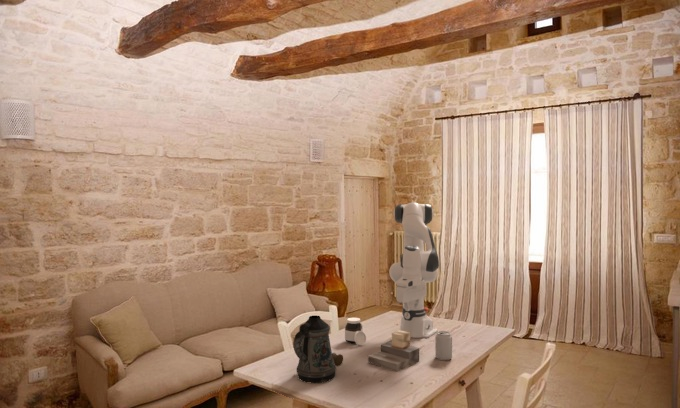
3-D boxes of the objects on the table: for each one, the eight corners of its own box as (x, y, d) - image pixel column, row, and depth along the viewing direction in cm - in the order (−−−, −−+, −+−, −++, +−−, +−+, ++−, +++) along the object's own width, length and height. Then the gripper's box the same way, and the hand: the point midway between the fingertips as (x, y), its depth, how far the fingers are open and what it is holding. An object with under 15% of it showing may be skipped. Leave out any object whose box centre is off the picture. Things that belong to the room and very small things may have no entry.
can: (441, 354, 225) (441, 329, 225) (455, 358, 220) (455, 332, 220) (432, 358, 220) (432, 332, 220) (446, 362, 215) (446, 335, 214)
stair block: (391, 353, 227) (391, 340, 227) (419, 361, 216) (419, 348, 216) (368, 362, 215) (368, 349, 215) (396, 371, 204) (396, 357, 204)
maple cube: (399, 343, 224) (399, 330, 223) (410, 345, 219) (410, 332, 219) (391, 345, 219) (391, 333, 219) (402, 348, 215) (402, 335, 215)
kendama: (331, 369, 208) (302, 357, 222) (347, 364, 215) (318, 353, 229) (332, 356, 208) (302, 344, 222) (347, 351, 215) (318, 340, 229)
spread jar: (351, 338, 252) (351, 316, 251) (371, 340, 247) (370, 318, 246) (341, 344, 241) (341, 321, 240) (361, 347, 236) (361, 324, 236)
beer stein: (340, 370, 205) (339, 312, 205) (328, 388, 187) (328, 324, 186) (303, 367, 209) (303, 310, 209) (288, 384, 190) (288, 322, 190)
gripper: (419, 276, 235) (419, 304, 235) (393, 282, 220) (393, 312, 220) (429, 278, 231) (429, 306, 231) (404, 284, 216) (404, 314, 216)
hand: (412, 309), depth 226 cm, fingers open, 5 cm apart
